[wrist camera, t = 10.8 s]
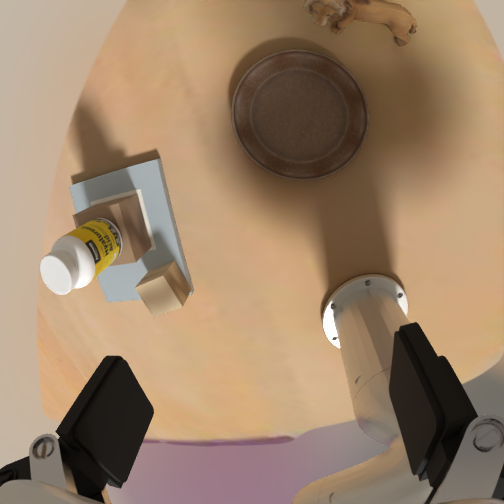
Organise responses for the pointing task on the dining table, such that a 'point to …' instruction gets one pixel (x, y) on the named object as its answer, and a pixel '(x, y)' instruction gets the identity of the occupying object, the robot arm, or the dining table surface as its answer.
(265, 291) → the dining table surface
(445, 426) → the robot arm
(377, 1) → the lion figurine
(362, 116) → the saucer
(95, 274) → the supplement bottle
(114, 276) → the board
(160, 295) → the oak cube
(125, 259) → the walnut block
